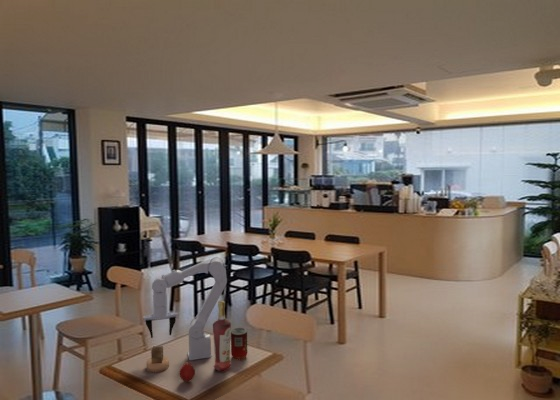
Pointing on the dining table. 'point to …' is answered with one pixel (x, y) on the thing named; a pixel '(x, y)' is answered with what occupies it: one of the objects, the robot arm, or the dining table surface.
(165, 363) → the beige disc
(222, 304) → the liquor
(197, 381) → the dining table surface
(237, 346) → the soda can
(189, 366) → the onion
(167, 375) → the dining table surface
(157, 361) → the walnut block
